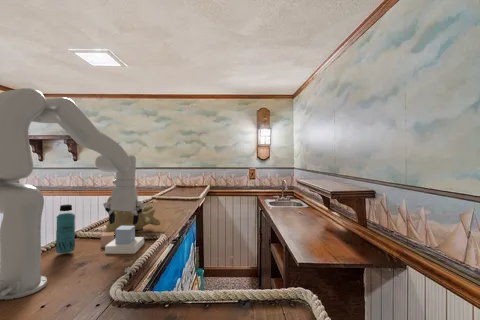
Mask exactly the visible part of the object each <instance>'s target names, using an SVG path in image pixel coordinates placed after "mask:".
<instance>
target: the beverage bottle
mask: <svg viewBox="0 0 480 320" xmlns="http://www.w3.org/2000/svg"><path fill="white" fill-rule="evenodd" d="M72 210H73V205H72V204H62V205H60V206H59V212H60V213H59V214H58V215H57V216H56V230H55V232H56V233H55V235H56V236H55V251H56V253H57V254H63V255H64V254H68V253H71V252H73V251H75V248H76V241H75V240H76V239H75V237H76V223H75V221H76V220H75V219H76V215H75V214H74V213H73V212H72ZM70 211H71V212H70Z"/></svg>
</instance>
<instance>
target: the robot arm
mask: <svg viewBox="0 0 480 320" xmlns="http://www.w3.org/2000/svg"><path fill="white" fill-rule="evenodd" d="M32 122H33V123H42V124H58V125H59V127H61V128H62V129H63V130H64V131H65V132H66V133H67V134H68V135H69V136H70V138H71V139H72V140H73V141H74V142H75V143H76V144H77V145H79V146H81V147H83V148H85V149H88V150H92V151H93V152H96V153H99V155H98V156H97V157H96V158H95V164H94V165H95V166H96V168H97V169H98V170H99V171H102V172H104V173H106V172H107V173H115V179H114V180H112V184H114V186H113V188H112V192H111V195H110V196H111V200H110V201H108V200H107V201H108V202H103V204H102V205H103V207H104V210H105V211H106V212H107V214H108V222H110V224H113V223H114V222H115V213H114V212H115V211H132V212H133V213H134V214H135V215H134V216H133V225H135V224H137V222H138V218H139V214H140V213H141V212H142V211H143V209H144V207H146V204H145V203H143V202H142V201H141V202H140V200H138V197H139V196H138V190H137V187H136V186H135V185H136V169H137V168H136V167H137V157H136V156H135V155H134V154H133V155H132V154H128V153H127V152H126V150H125V149H124V148H123V147H122V146H121V145H120V144H119V143H118V142H117V141H116V140H114V139H113V138H111V137H110V136H108V135H107V134H106V133H104V132H102V131H100V130H99V129H98V128H97V127H96V126H95V125H94V124H93V122H92V121H91V120H90V119H89V118H88V116H87V115H86V113H84V112H83V110H82V109H81V108H80V107H79V106H78V105H77V104H76V103H75V102H74V100H72V99H71V98H68V97H55V98H54V97H53V98H45V96H44V94H43V93H42V92H41V91H39V90H37V89H35V88H31V87H30V88H29V87H27V88H25V87H24V88H15V89H10V90H5V91H2V92H0V214H3V215H2V220H1V224H0V300H3V299H4V300H14V298H15V299H19V298H22V297H26V296H29V295H32V294H34V293H36V292H37V293H38V292H39V291H40V290H42V289H44V288H45V287H46V286H47V284H48V279H47V277H46V276H43V275H42V234H41V233H42V232H41V231H42V227H41V226H42V218H43V217H42V215H43V212H44V207H45V206H44V205H45V197H44V194H43V193H42V191H41V190H40V189H39V188H37V187H36V186H33V185H31V184H26V183H21V182H20V181H21V180H24V179H27V178H28V177H29V176H31V174H32V173H33V170H34V161H33V157H32V151H31V144H30V138H29V128H30V125H31V123H32ZM109 204H110V208H109V206H108V205H109ZM138 205H139V206H141V208H140V209H139V210H138V209H137V206H138Z"/></svg>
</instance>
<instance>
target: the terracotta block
mask: <svg viewBox="0 0 480 320" xmlns="http://www.w3.org/2000/svg"><path fill="white" fill-rule="evenodd" d="M114 239H115V236H114V232H107V233H106V232H102V233H101V235H100V248H105V246H106V245H107V244H109V243H110V242H111V241H113V240H114Z"/></svg>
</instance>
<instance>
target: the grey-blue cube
mask: <svg viewBox="0 0 480 320" xmlns="http://www.w3.org/2000/svg"><path fill="white" fill-rule="evenodd" d="M135 237H136V230H135V226H120V227H118V228H117V229H116V230H115V236H114V239H115V244H130V243H131V242H132V241H133V240H134V239H135Z"/></svg>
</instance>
